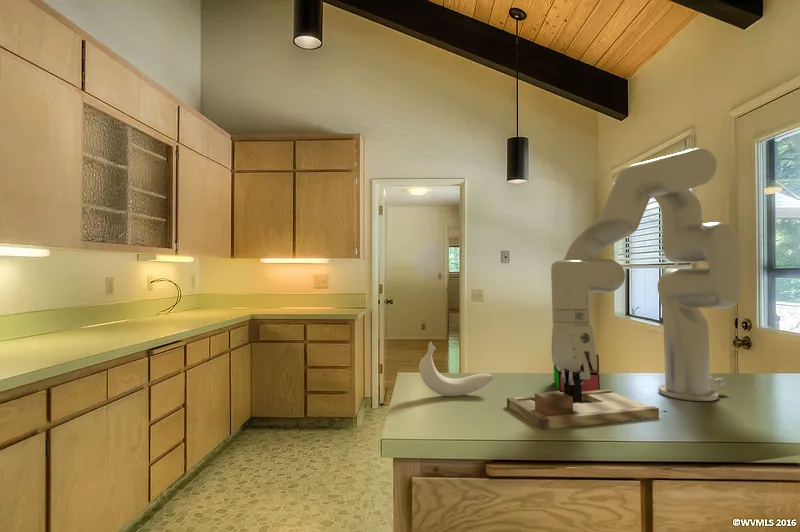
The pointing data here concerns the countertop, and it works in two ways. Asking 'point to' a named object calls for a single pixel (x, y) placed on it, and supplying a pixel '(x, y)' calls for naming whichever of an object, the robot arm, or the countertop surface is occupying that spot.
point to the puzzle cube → (587, 384)
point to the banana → (448, 384)
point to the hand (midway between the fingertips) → (573, 401)
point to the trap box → (585, 410)
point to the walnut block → (553, 403)
